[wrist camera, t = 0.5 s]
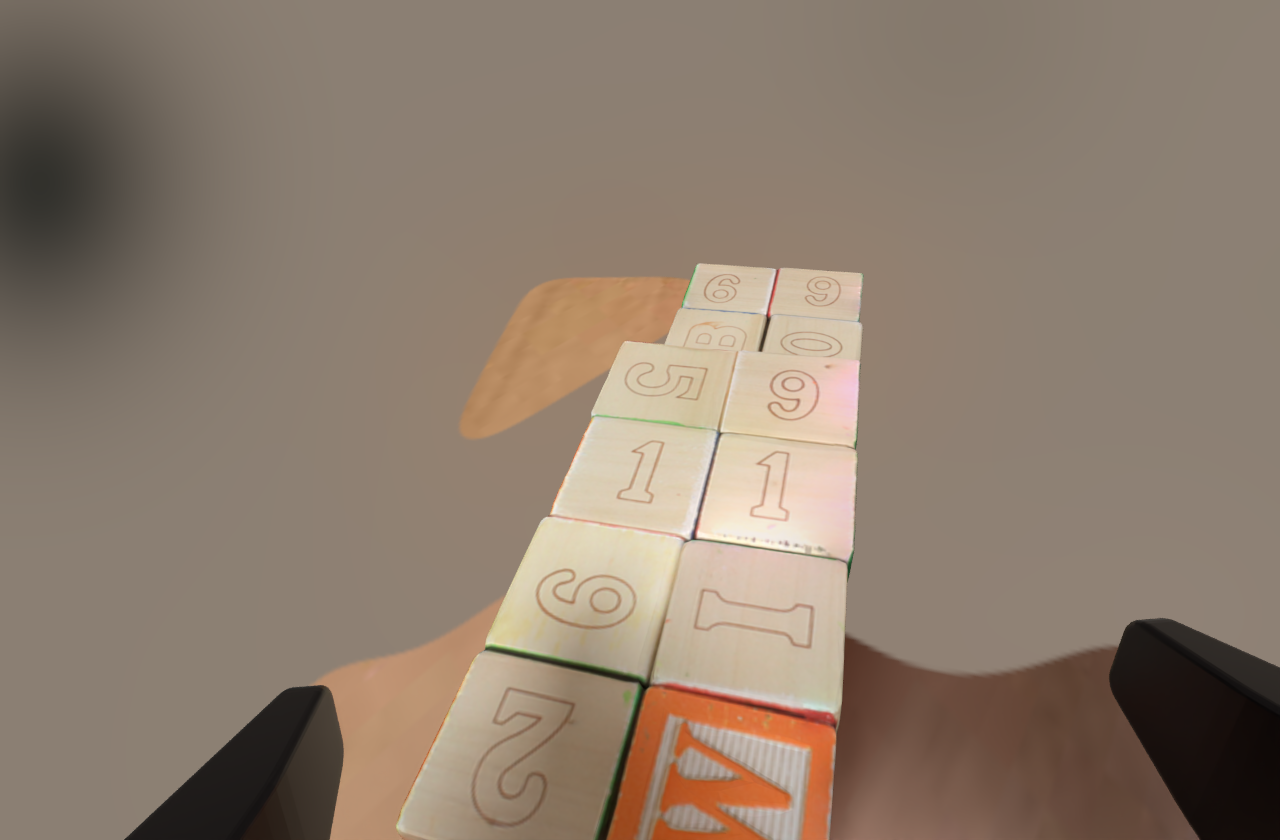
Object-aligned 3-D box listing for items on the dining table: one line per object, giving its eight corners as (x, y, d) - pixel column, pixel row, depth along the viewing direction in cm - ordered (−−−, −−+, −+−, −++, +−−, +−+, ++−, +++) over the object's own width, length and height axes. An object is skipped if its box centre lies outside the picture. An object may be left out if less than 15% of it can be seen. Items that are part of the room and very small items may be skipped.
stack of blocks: (703, 437, 34) (695, 182, 25) (843, 455, 32) (883, 190, 24) (531, 1003, 19) (378, 828, 11) (777, 1089, 17) (823, 962, 9)
